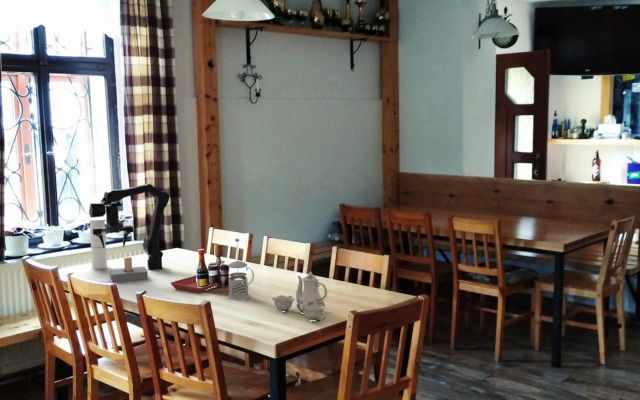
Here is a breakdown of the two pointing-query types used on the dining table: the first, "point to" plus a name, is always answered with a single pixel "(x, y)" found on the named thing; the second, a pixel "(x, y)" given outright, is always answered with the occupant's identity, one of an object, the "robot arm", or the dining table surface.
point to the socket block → (128, 274)
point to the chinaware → (305, 298)
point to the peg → (128, 264)
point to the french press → (238, 281)
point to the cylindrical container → (98, 245)
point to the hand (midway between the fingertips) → (113, 247)
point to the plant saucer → (190, 285)
